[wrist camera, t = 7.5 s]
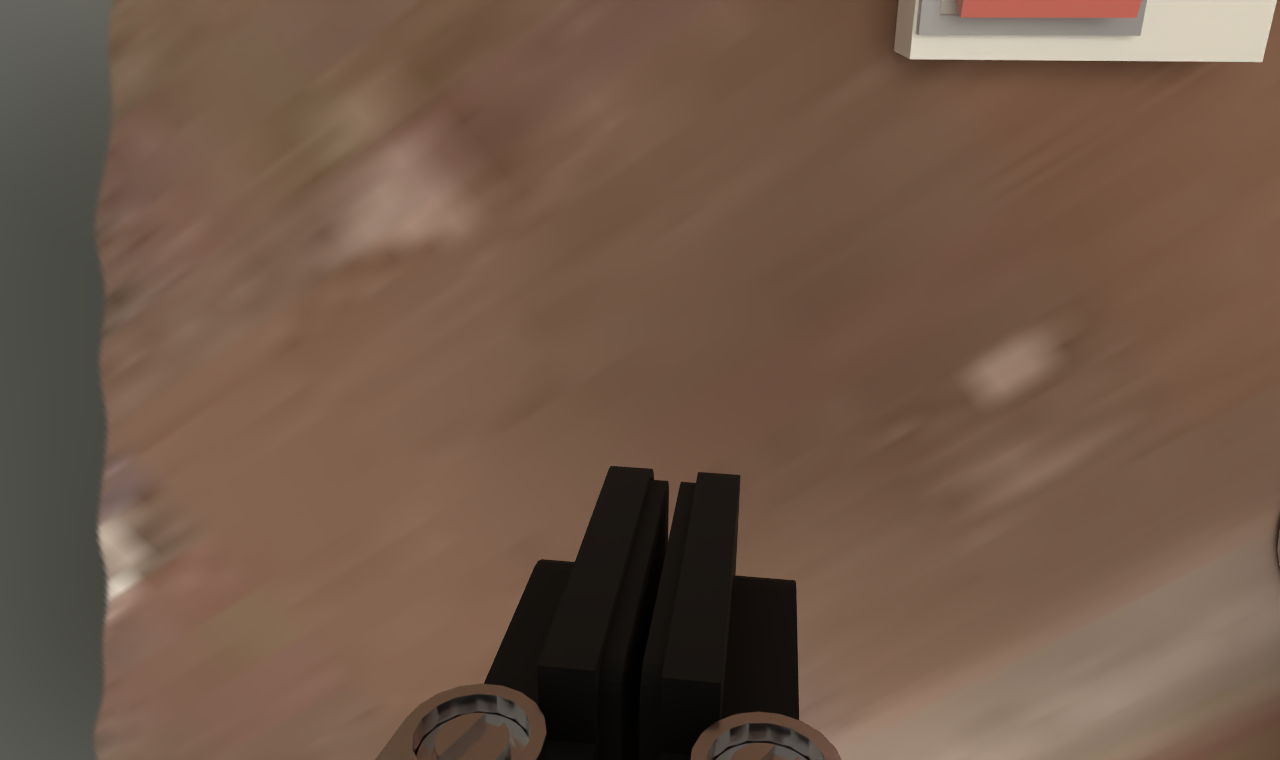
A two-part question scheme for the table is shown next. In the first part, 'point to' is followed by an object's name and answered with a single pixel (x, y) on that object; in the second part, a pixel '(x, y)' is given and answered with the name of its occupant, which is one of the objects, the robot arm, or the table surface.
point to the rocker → (1048, 8)
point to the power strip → (1090, 33)
